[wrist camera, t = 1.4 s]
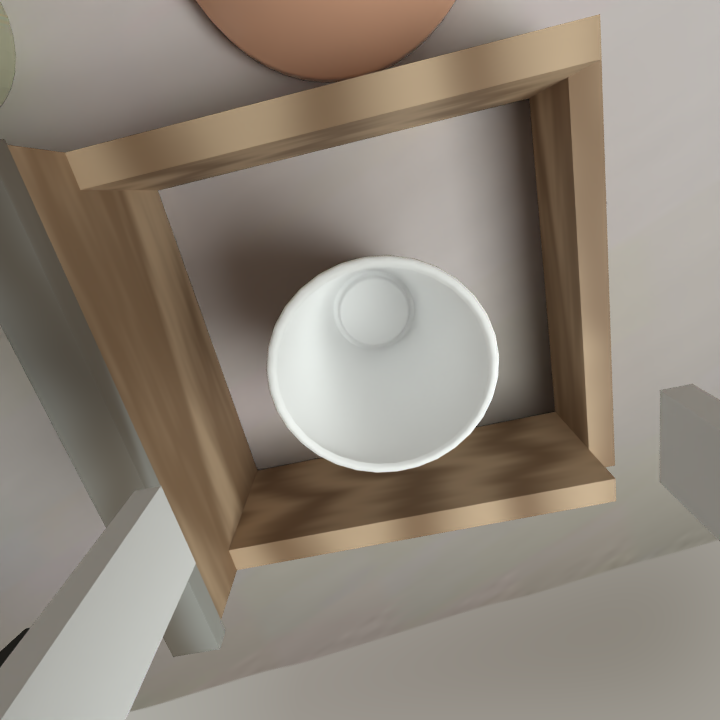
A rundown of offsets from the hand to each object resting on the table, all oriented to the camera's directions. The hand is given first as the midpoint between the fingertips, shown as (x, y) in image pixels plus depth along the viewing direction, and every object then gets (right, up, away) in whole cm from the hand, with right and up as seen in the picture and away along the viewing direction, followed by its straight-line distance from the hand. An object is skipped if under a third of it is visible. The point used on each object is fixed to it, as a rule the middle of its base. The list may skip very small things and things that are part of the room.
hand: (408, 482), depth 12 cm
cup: (0, +7, +18) cm, 19 cm away
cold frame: (0, +6, +18) cm, 19 cm away
